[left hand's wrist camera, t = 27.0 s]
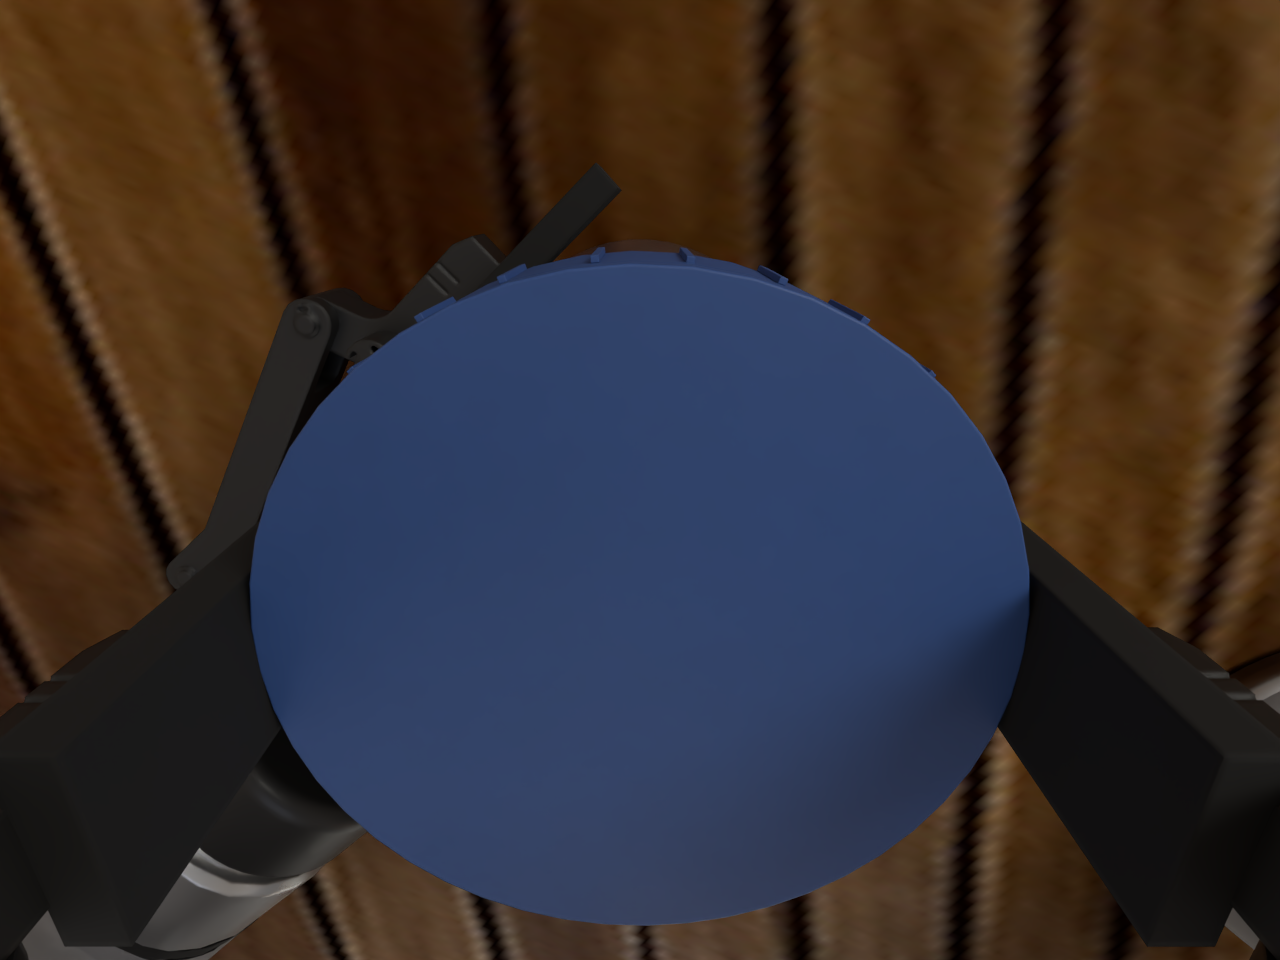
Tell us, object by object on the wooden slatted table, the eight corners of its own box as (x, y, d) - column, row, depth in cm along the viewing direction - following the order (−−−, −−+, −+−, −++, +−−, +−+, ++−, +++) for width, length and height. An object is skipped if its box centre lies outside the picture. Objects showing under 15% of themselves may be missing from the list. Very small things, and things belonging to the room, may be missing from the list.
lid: (1028, 715, 13) (1101, 812, 11) (504, 882, 15) (482, 994, 13) (855, 106, 10) (917, 80, 7) (175, 426, 11) (66, 479, 9)
